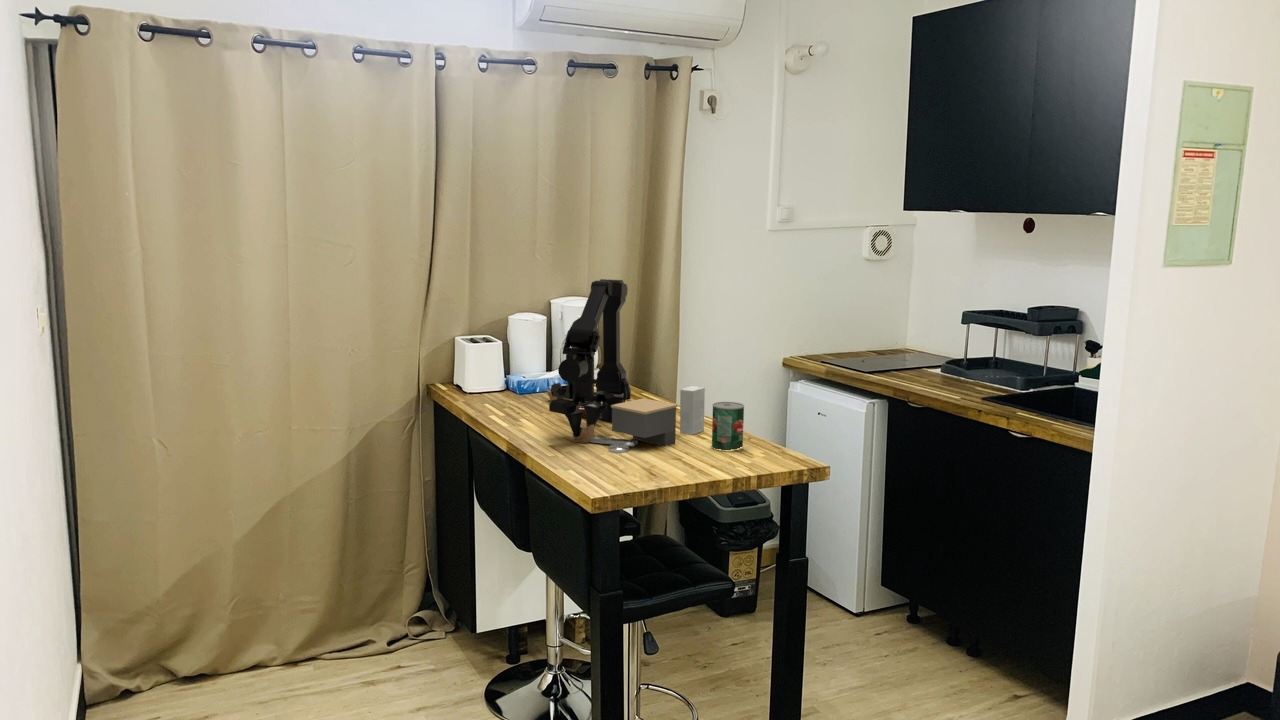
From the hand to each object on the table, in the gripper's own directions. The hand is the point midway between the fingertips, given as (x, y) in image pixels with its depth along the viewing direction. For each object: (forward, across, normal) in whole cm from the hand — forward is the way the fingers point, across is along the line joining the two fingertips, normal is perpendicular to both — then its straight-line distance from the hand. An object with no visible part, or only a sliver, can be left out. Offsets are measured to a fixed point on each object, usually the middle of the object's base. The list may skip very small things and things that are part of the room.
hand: (582, 435), depth 252 cm
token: (+2, 0, +13) cm, 13 cm away
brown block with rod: (+1, -2, +7) cm, 7 cm away
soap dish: (+2, -31, -36) cm, 48 cm away
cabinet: (+2, -9, +13) cm, 16 cm away
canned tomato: (+2, -21, +30) cm, 37 cm away
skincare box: (+2, -28, +14) cm, 31 cm away
